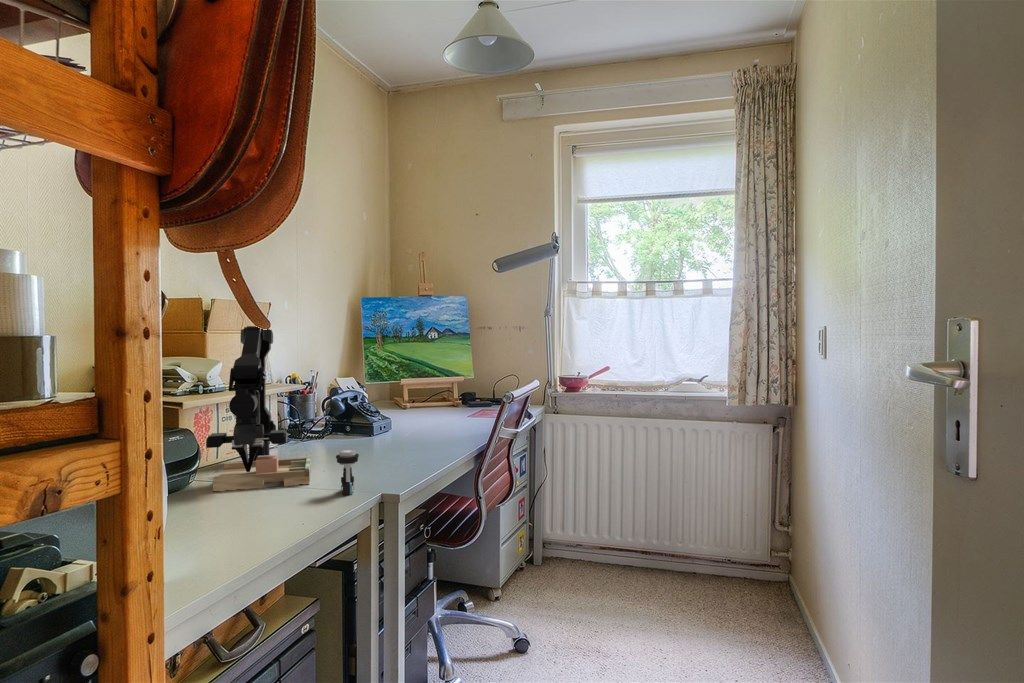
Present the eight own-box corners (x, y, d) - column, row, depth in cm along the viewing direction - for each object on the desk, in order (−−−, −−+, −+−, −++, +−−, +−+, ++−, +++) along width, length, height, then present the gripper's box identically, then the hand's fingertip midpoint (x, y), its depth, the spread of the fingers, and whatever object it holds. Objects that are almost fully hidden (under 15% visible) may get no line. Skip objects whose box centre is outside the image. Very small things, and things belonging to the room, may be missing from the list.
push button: (335, 489, 142) (334, 448, 142) (357, 487, 144) (357, 447, 144) (336, 496, 136) (336, 454, 135) (360, 494, 138) (359, 452, 137)
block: (258, 470, 152) (257, 455, 152) (278, 469, 154) (278, 454, 154) (255, 475, 148) (255, 460, 147) (276, 474, 149) (276, 458, 149)
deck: (224, 476, 155) (224, 461, 155) (310, 469, 162) (310, 455, 162) (213, 492, 140) (213, 475, 140) (309, 484, 146) (309, 468, 146)
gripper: (201, 417, 139) (201, 482, 139) (284, 414, 144) (284, 476, 145) (210, 411, 149) (210, 471, 149) (287, 408, 155) (287, 466, 155)
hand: (248, 471), depth 149 cm, fingers closed
